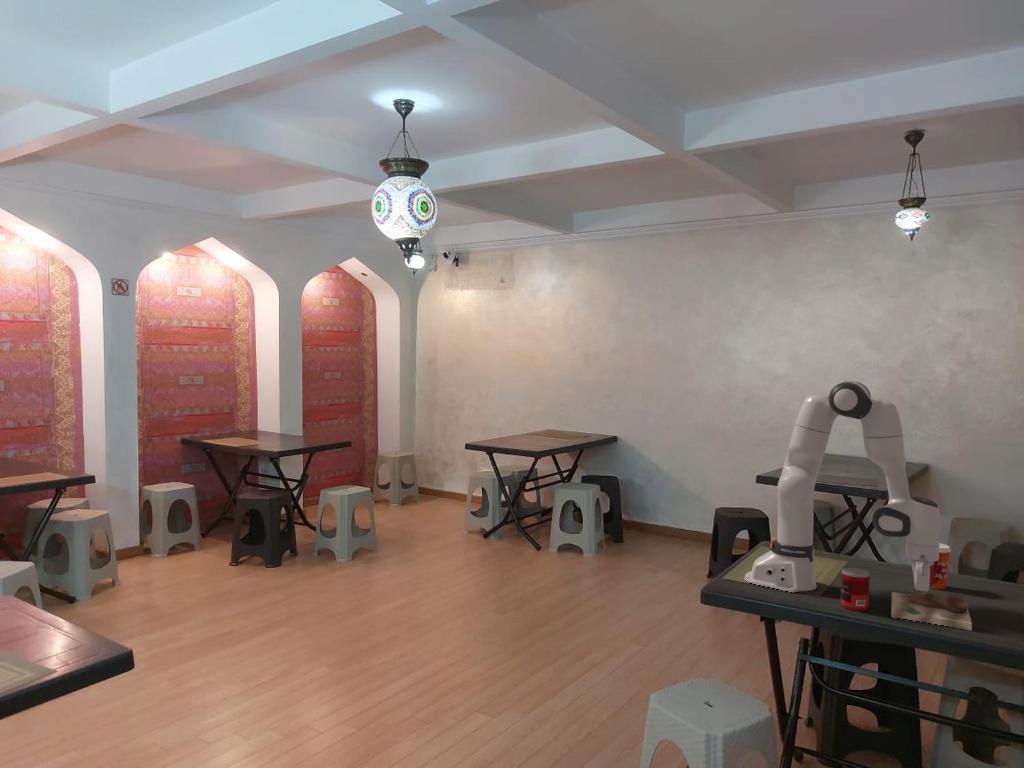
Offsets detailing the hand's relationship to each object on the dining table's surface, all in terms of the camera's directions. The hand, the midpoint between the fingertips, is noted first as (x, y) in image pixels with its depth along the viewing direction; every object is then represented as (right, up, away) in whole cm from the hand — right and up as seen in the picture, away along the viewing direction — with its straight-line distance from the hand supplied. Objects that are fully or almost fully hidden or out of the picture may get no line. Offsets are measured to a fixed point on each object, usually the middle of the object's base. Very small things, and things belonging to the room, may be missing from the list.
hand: (919, 596), depth 223 cm
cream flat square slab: (+1, -4, -4) cm, 5 cm away
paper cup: (+17, -3, +21) cm, 27 cm away
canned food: (-19, -4, +1) cm, 20 cm away
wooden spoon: (+3, -1, -4) cm, 6 cm away
